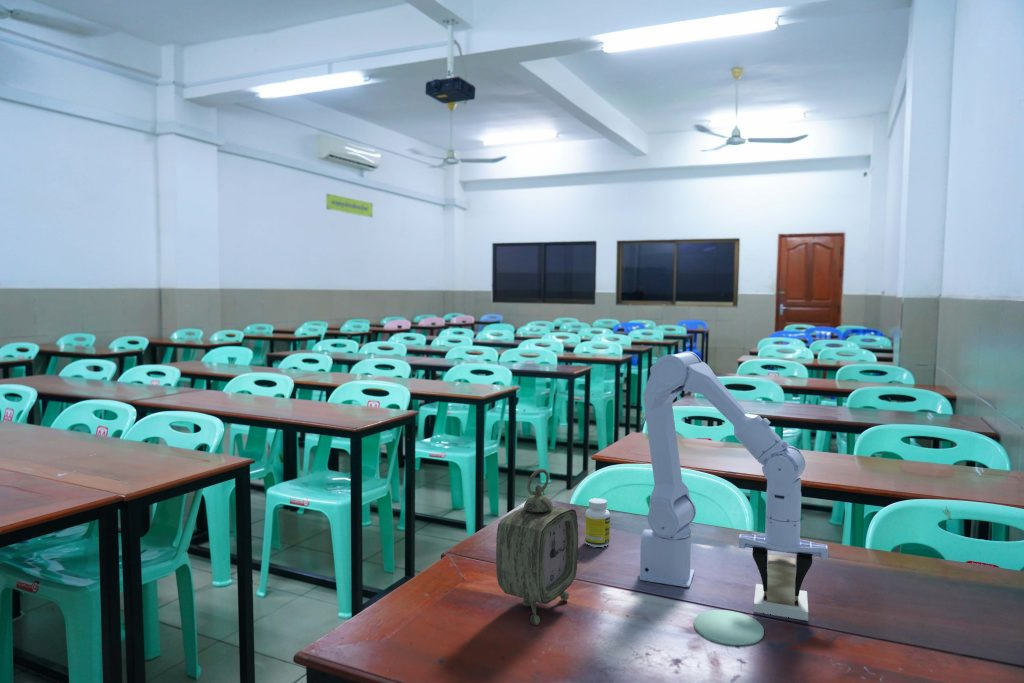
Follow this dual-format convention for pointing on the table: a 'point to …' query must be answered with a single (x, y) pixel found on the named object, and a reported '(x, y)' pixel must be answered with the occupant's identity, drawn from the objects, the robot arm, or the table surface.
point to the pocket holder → (781, 605)
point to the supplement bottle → (597, 523)
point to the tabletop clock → (537, 550)
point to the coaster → (728, 627)
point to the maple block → (781, 580)
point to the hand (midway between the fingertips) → (781, 591)
